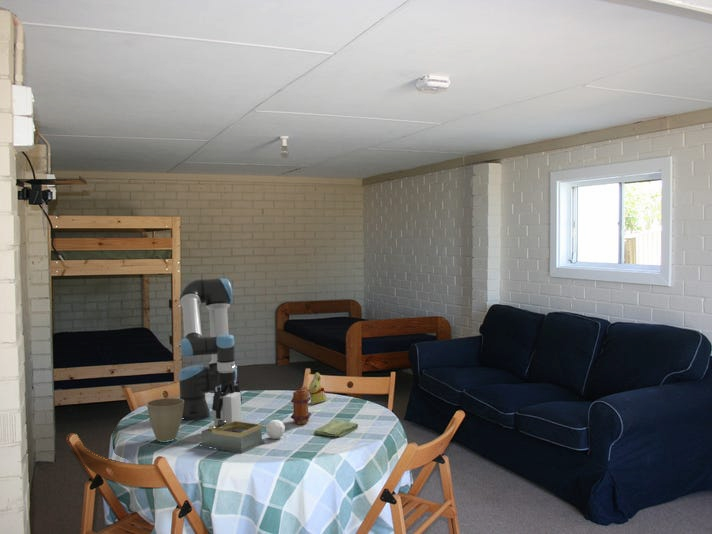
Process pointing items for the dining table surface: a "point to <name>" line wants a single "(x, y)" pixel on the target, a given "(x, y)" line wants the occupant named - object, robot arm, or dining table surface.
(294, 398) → the mug
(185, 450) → the dining table surface
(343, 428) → the washcloth
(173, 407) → the plant pot
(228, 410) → the supplement box
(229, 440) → the grey and gold block
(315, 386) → the chocolate bunny
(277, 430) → the geometric ball
